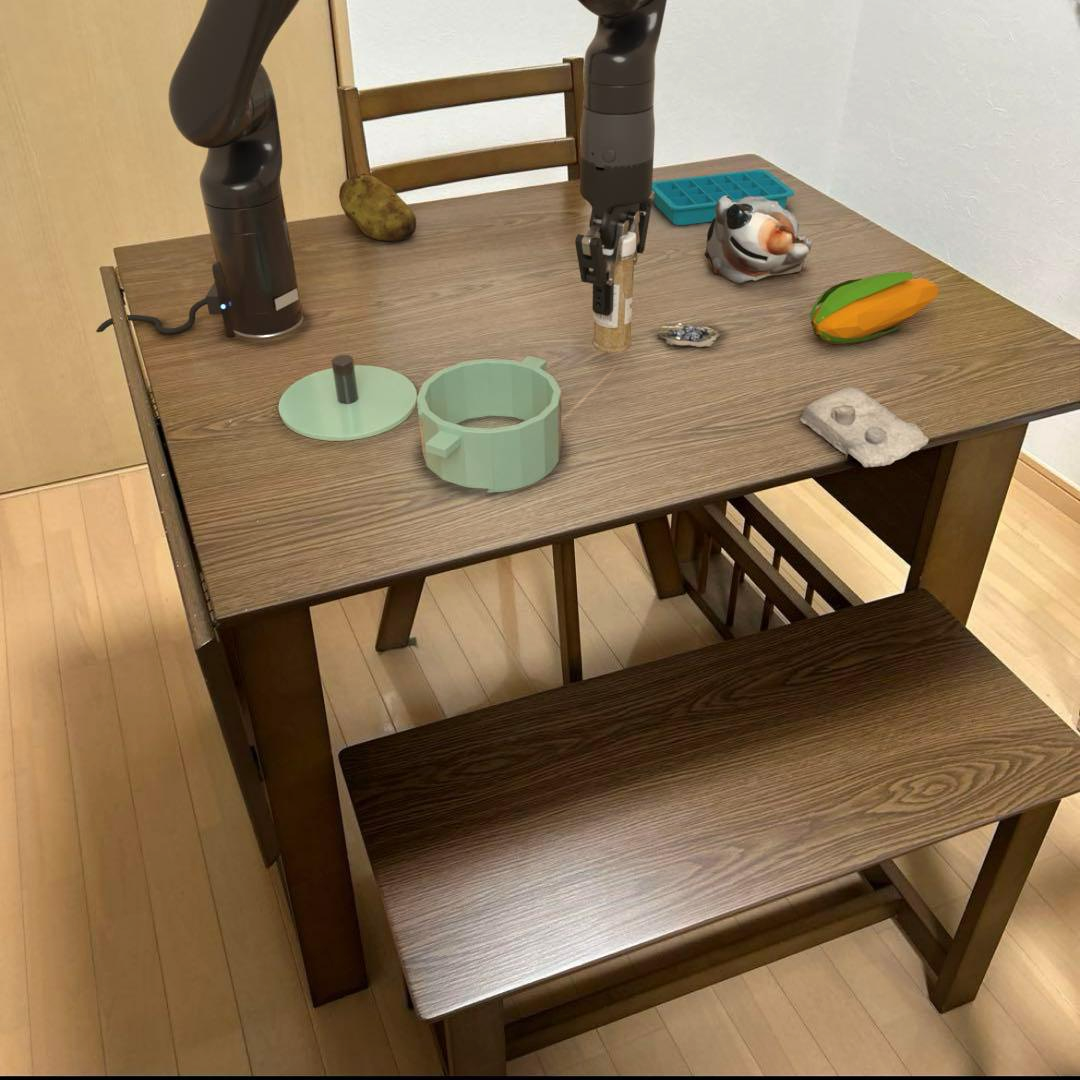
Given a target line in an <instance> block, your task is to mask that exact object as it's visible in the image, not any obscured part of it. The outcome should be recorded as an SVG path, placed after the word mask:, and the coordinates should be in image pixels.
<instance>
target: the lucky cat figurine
mask: <svg viewBox="0 0 1080 1080" xmlns="http://www.w3.org/2000/svg"><path fill="white" fill-rule="evenodd" d="M715 212H716V217H715V218H714V219H713V220H712V221H711V223H710V225H709V227H708V230H707V234H706V246H705V247H706V248H705V252H704V254H703V256H704V257H705V258H706V259H707V260H708V261H709V264H710V265H711V269H712V273H714V274H716V275H719V276H721V277H723V278H725V279H727V280H730V281H732V282H733V283H736V284H743V283H745V282H747V281H752V280H753V281H759V280H760V279H763V278H766V277H772V276H780V275H788V274H792V273H800V272H801V271H802V270H803V269H804V263H805V259H806V258H807V255H808V254H809V253H810V251H811V249H812V245H813V240H812V239H811V240H810V239H809V238H808V236H807V235H801V234H799V229H800V227H799V226H800V224H799V222H798V220H797V218H796V217H795V216H794V214H793V213H792V212H790V211H789V210H788V209H787V208H785V209H783V208H782V207H781V206H780V203H779V202H777V201H770V200H768V199H766V198H764V197H759V196H755V197H754V196H748V197H744V198H741V199H740V200H738V201H737V202H734V201H732V200H731V199H730V197H729V196H728V195H725V196H723V197H721V198H720V199H718V201H717V205H716V208H715Z"/></svg>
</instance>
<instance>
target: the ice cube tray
mask: <svg viewBox="0 0 1080 1080" xmlns="http://www.w3.org/2000/svg"><path fill="white" fill-rule="evenodd" d="M652 192H653V198H654V200H653V201H654V205H655V206H656V207H657V209H659V211H660V212H661V213H663V215H665V216H666V218H667V219H668V220H669V221H670V222H671V223H672V224H673V225H676V226H686V225H694V224H702V223H709V222H711V223H712V220H713V219H714V218H715V217H716V212H715V208H716V205H717V201H718V199H720V198H721V197H723V196H725V195H728V196H729V197H730V199H731V200H732V201H734V202H737V201H738V200H740V199H741V198H744V197H748V196H754V197H755V196H759V197H764V198H766V199H768V200H770V201H777V202H779V203H780V206H781V207H782V208H783V209H786V205H787V201H788V198H791V197H793V196H794V195H795V194H794V193H795V191H794V190H793V189H791V188H790V187H789V186H788V185H787V184H786V183H785V182H783V181H782V180H780V179H779V178H778V177H776V176H775V175H774V174H773V173H771V172H770V171H769V170H766V169H762V168H761V169H760V168H757V169H748V170H739V171H730V172H723V173H715V174H707V175H698V176H697V175H696V176H690V177H681V178H680V177H679V178H672V179H664V180H663V179H662V180H656V181H652Z"/></svg>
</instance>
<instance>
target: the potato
mask: <svg viewBox="0 0 1080 1080" xmlns="http://www.w3.org/2000/svg"><path fill="white" fill-rule="evenodd" d="M338 198H339V202H340V206H341V209H342V211H343V213H344V215H345V217H347V219H348V220H349V221H351V222H352V223H354V224H356V225H357V226H358V227H359V229H360V231H361V232H362V233H363V234H364V235H365V236H367V237H370V238H371V239H374V240H377V241H382V242H383V241H384V242H397V241H405V240H406V239H408V238H410V237H411V236H413V235H414V234H415V232H416V229H417V218H416V216H415V213H414V212H413V210H412V208H411V207H410V206H408V204H407V203H406V202H405V201H404V200H403V199H402V198H401V196H399V194H397V191H396V190H394V189H392V188H391V186H389V185H387V184H385V183H384V182H382V181H381V180H380V179H379V178H377V177H375V176H374V175H370V174H366V173H361V174H360V173H359V174H354V175H352V176H351V177H348V178H347V179H346V180H344V181H343V182H342V184H341V186H340V187H339V194H338Z"/></svg>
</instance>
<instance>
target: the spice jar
mask: <svg viewBox="0 0 1080 1080" xmlns="http://www.w3.org/2000/svg"><path fill="white" fill-rule="evenodd" d="M635 250H636V234H635V233H633V232H629V231H628V233H627V235H626V237H625V238H624V241H623V248H622V257H621V261H620V262H619V263H617V264H616V268H615V274H614V280H613V283H614V295H613V312H612V313H611V314H610V315H608V316H605V315H601V314H597V313H595V312H594V311H593V339H592V345H593V347H594V348H595V349H596V350H598V351H600V352H602V353H607V354H617V353H618V354H619V353H622V352H626V351H628V349H630V348H631V346H632V343H633V340H632V320H633V303H634V300H633V299H634V272H633V266H634V265H633V260H634V257H633V256H634V252H635ZM613 251H614V249H613V250H608V249H603V254H608V255H612V254H613ZM604 263H605V271H607V263H606V262H604Z"/></svg>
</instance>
